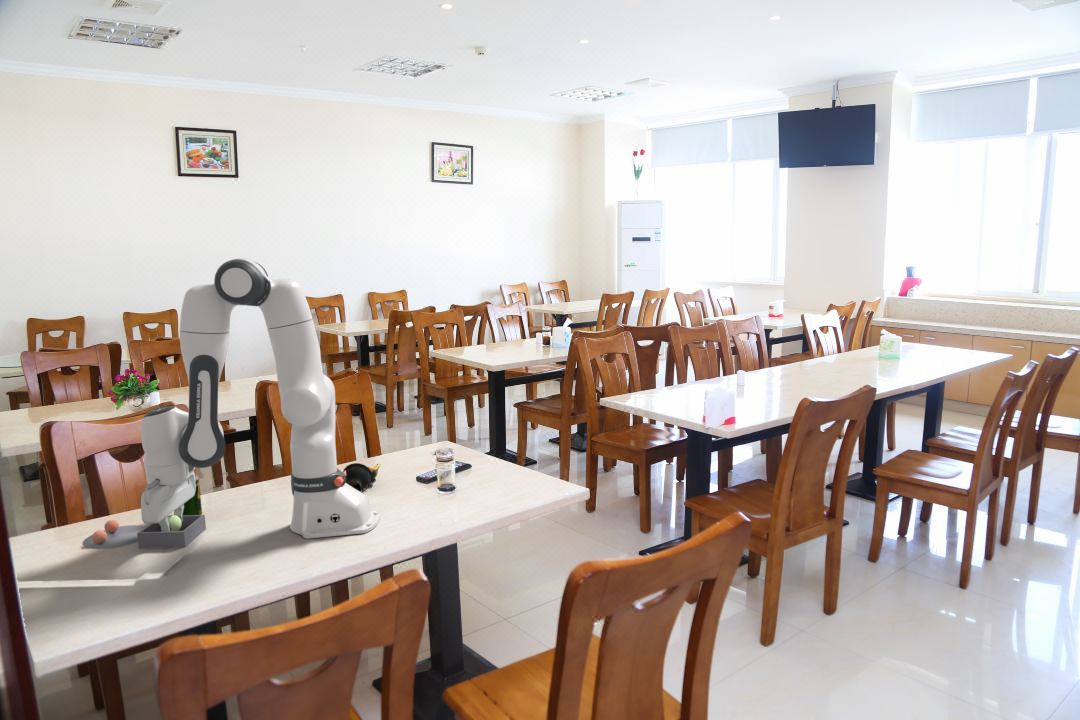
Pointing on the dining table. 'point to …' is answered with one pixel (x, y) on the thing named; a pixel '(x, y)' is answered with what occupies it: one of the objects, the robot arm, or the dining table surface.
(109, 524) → the tomato
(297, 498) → the robot arm
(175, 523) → the lettuce ball
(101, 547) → the slate plate
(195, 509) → the beer can
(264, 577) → the dining table surface
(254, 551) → the dining table surface
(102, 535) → the tomato
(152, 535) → the bin
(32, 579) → the dining table surface
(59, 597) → the dining table surface
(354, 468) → the fried shrimp in bowl
